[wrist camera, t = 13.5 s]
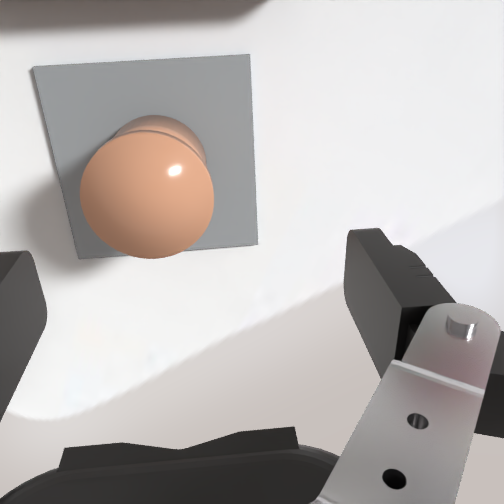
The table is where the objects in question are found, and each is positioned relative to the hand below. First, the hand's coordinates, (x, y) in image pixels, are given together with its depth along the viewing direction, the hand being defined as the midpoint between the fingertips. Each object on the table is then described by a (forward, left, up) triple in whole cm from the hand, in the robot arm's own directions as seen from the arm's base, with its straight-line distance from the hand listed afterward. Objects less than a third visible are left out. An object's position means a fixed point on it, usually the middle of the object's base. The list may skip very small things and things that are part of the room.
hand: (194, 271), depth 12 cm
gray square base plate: (+2, -3, -18) cm, 19 cm away
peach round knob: (+2, -3, -18) cm, 19 cm away
